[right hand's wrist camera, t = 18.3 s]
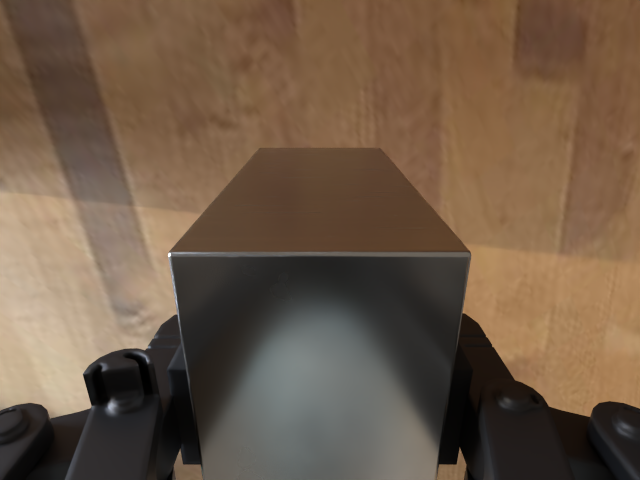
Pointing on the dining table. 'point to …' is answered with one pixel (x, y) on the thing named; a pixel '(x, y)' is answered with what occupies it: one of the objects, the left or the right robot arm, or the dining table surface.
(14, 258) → the dining table surface
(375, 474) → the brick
